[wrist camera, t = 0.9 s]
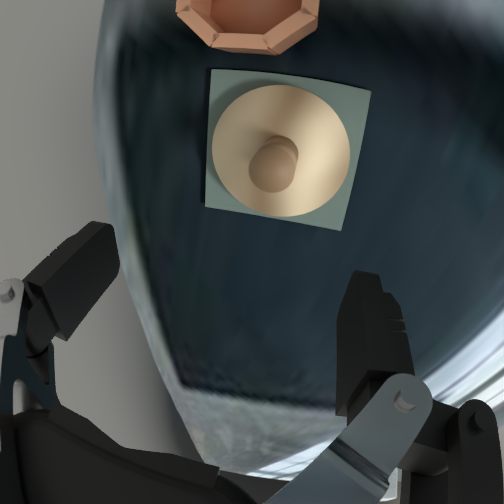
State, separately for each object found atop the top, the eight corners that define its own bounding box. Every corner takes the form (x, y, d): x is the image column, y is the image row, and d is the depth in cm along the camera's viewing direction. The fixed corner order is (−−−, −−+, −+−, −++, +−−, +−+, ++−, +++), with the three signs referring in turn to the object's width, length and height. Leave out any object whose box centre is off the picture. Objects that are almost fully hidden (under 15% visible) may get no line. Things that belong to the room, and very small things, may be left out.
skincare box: (368, 459, 55) (366, 501, 45) (379, 454, 52) (377, 498, 43) (387, 460, 55) (386, 501, 45) (398, 455, 52) (397, 497, 43)
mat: (370, 90, 18) (371, 91, 18) (340, 228, 25) (340, 230, 25) (213, 69, 20) (211, 69, 19) (207, 204, 27) (205, 206, 26)
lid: (359, 98, 19) (373, 104, 14) (333, 220, 24) (336, 257, 20) (220, 79, 20) (193, 80, 15) (214, 199, 26) (190, 230, 21)
